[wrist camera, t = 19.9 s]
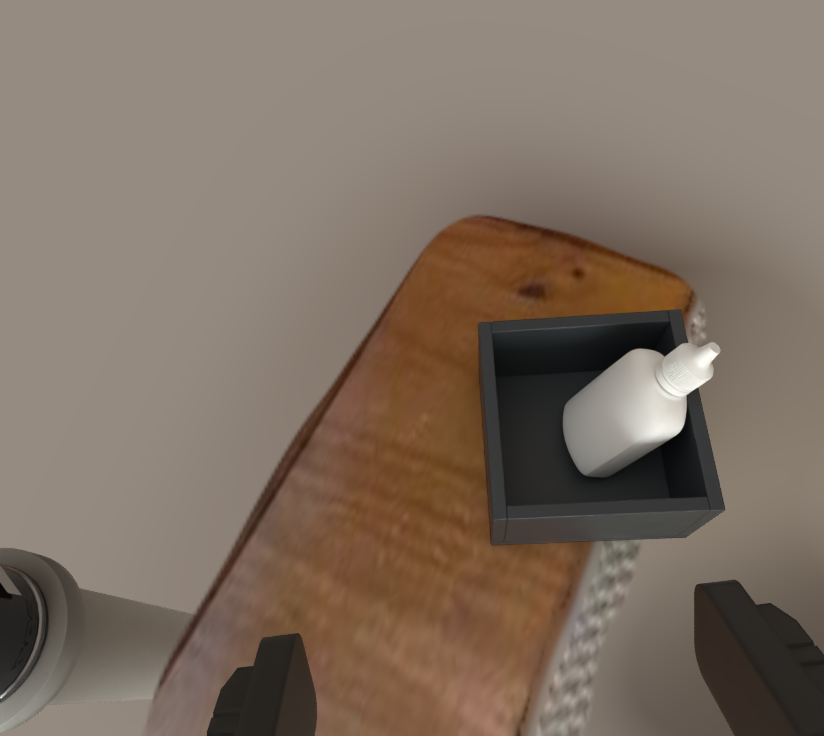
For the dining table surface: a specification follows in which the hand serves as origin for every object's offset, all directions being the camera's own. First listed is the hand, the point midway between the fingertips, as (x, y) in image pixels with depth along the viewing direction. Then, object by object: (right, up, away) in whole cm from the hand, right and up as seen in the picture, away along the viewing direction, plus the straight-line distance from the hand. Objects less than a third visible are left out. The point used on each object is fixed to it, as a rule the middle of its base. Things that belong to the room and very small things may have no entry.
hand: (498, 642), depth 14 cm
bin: (+10, 0, +33) cm, 34 cm away
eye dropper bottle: (+10, +1, +32) cm, 33 cm away
